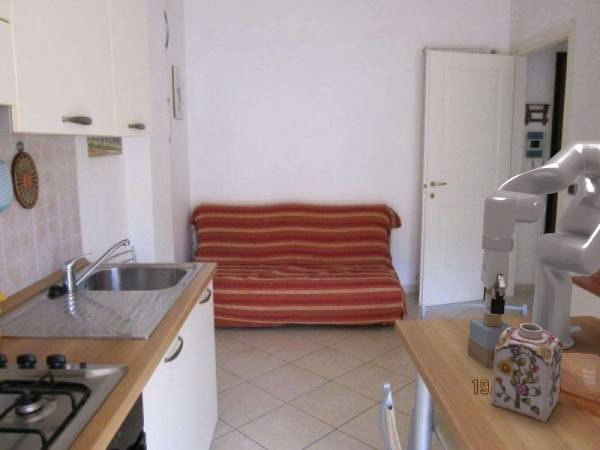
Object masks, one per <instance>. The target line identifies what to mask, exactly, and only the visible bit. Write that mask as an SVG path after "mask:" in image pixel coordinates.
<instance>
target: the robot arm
mask: <svg viewBox="0 0 600 450" xmlns="http://www.w3.org/2000/svg"><path fill="white" fill-rule="evenodd" d="M576 180H577V181H578V184H577V185H578V187H577V191H576V193H575V194H574V196H573V198H572V199H571V201H570V202H569V204H568V205H567V207H566V208H565V210H564V211H563V212H562V214H561V215H560V217H559V219H558V222H557V229H558V231H559V232H560V233H555V232H551V233H549V232H548V233H544V234H542V235H540V236H539V237H538V238H537V239H536V241H534V242H535V243H534V246H533V256H534V264H535V265H534V266H535V281H534V291H533V292H534V293H533V303H532V317H531V318H532V319H531V324H536V325H538V326H540V327H542V329H543V330H545V331H548V332H550V333H551V334H553V335H554V336H555V337H557V338H558V339H559V340H560V342H561V343H562V345H563V350H568V349H570V348H572V347H573V346H574V339H573V338H572V337H571V336H572V335H573V334H580V333H581V332H582V328H581V327H580V326H577V325H576V326H570V316H571V309H572V308H571V306H572V299H573V298H572V297H573V296H572V295H573V286H574V285H573V279H572V276H571V274H570V272H571V273H573V274H578V275H582V276H591V275H594V274H596V273H598V271H600V140H599V139H597V140H596V139H592V140H591V139H587V140H586V139H579V140H573V141H570V142H569V143H567V144H566V145H565V146H564V147H563V148H562V149H560V150H559V151H558V152H557V153H555V154H554V155H553V157H551V158H550V159H549V160H547V162H545V163H544V164H543V165H541V166H538V167H535V168H533V169H531V170H528V171H525V172H523V173H520V174H518V175H515V176H513V177H511V178H509V179H507V180H506V181H505V182H504V183H502V184H501V185H500V186H499V187H498V188H496V190H495V191H493V193H492V194H491V195H488V196H486V197H485V200H484V207H483V209H484V211H483V222H482V224H483V225H482V236H481V237H482V238H481V239H482V241H481V249H482V250H484V251H483V256H482V262H481V263H482V265H481V274H480V281H481V282H482V284H483V299H482V300H483V301H484V302H485V292H486V288H487V289H490V288H492V295H493V298H491V310H490V312H491V314H501V315H504V314H505V308H506V307H505V305H506V290H507V289H508V285H509V284H508V283H509V270H510V266H509V265H510V252H514V243H515V232H516V231H515V229H516V224H518V223H522V224H533V223H536V222H538V221H540V220H541V219H542V218H543V217H544V216H545V213H546V210H547V206H546V205H547V204H546V203H545V200H544V199H543V198H542V197H540V196H542V195H543V196H544V195H549V194H555V193H559V192H562V191H564V190H566V189H567V188H568V187H569V186H570V185H572V183H574V182H575V181H576ZM494 286H498V287H494ZM495 291H497V292H495Z"/></svg>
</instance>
